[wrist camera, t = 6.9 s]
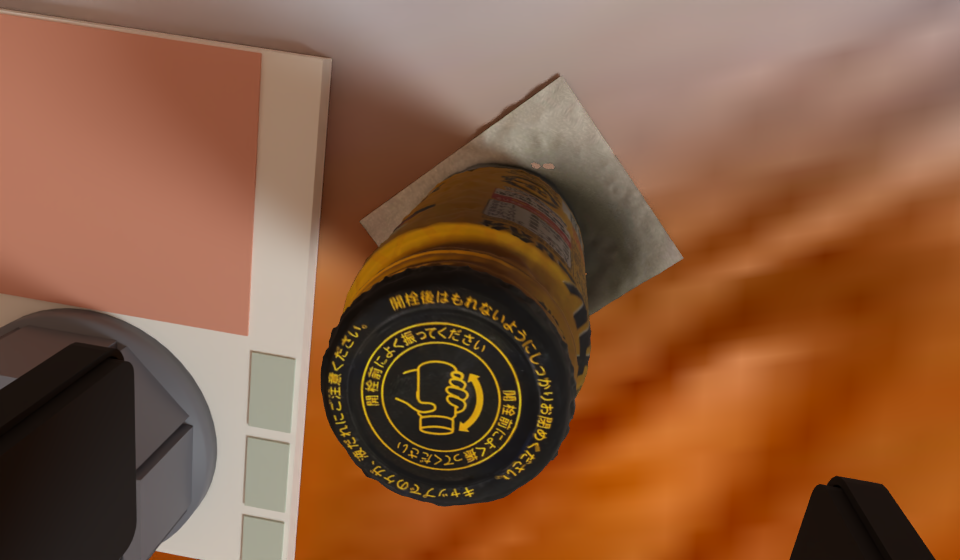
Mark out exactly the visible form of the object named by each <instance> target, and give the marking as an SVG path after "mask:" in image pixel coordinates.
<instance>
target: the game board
mask: <svg viewBox="0 0 960 560" xmlns="http://www.w3.org/2000/svg"><path fill="white" fill-rule="evenodd" d="M331 69H332V59H331V58H325V57H318V56H311V55H305V54H298V53H292V52H285V51H278V50H272V49H265V48H259V47H252V46H246V45H239V44H232V43H226V42H219V41H213V40H206V39H199V38H193V37H186V36H180V35H173V34H166V33H160V32H153V31H147V30H140V29H134V28H127V27H120V26H114V25H107V24H101V23H94V22H87V21H81V20H74V19H68V18H61V17H54V16H48V15H41V14H35V13H28V12H21V11H15V10H8V9H2V8H0V389H2V388H3V387H5V386H7V385H8V384H10V383H11V382H13V381H14V380H16V379H17V378H19V377H20V376H22V375H24V374H25V373H27V372H28V371H30V370H31V369H33V368H34V367H36V366H37V365H39V364H40V363H42V362H44V361H45V360H47V359H48V358H50V357H51V356H53V355H54V354H56V353H57V352H59V351H60V350H62V349H64V348H65V347H67V346H68V345H70V344H72V343H75V342H80V343H86V344H92V345H98V346H103V347H109V348H115V349H118V350H119V351H121V352H122V355H123V357H124V361H128V362H130V363H131V364H132V366H133V368H134V384H135V444H136V504H137V524H136V530H135V534H134V537H133V540H132V542H131V544H130V546H129V548H128V549H127V551H126V552H125V553H124V554H123V556H122V557H121V558H120V559H119V560H148V559H149V558H150V557H151V556H152V554H153V553H154V552H155V551H160V552H165V553H170V554H175V555H180V556H186V557H191V558H196V559H201V560H294V557H295V544H296V531H297V518H298V505H299V491H300V478H301V465H302V452H303V438H304V425H305V412H306V399H307V386H308V372H309V359H310V346H311V333H312V320H313V306H314V293H315V280H316V267H317V253H318V240H319V227H320V214H321V201H322V187H323V174H324V161H325V148H326V135H327V121H328V108H329V95H330V82H331Z"/></svg>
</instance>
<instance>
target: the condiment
mask: <svg viewBox="0 0 960 560" xmlns="http://www.w3.org/2000/svg"><path fill="white" fill-rule="evenodd" d="M533 162H534V163H537V164H540V165H541V167H540V168H539V169H535V168H533V167H532V165H531V163H533ZM545 163H552V164H553V165H554V166H555V168H554V169H545V168H544V167H542V166H543V164H545ZM359 222H360V223H361V224H362V225H363V227H364V228H365V229H366V230H367V232H368V233H369V235H370V236H371V237H372V238H373V240H374V241H375V242H376V244H377V245H378V248H377V249H376V250H375V251H374V252H373V253H372V254H371V255H370V256H369V257H368V258H367V259H366V261H365V263H364V265H363V267H362V269H361V270H360V272H359V273H358V274H357V276H356V278H355V280H354V282H353V284H352V286H351V288H350V290H349V292H348V294H347V297H346V301H345V305H344V310H343V314H342V316H341V319H340V322H339V325H338V326H337V327H335V328H333V330H332V332H331V338H330V340H329V348H328V349H327V350H326V353H325V355H324V356H323V361H322V367H321V392H322V396H323V402H324V407H325V411H326V416H327V419H328V421H329V424H330V426H331V428H332V430H333V432H334V434H335V436H336V437H337V439H338V440H339V442H340V443H341V444H342V445H343V447H344V448H345V449H346V450H347V452H348V454H349V456H350V457H351V459H352V460H353V461H354V463H355V464H356V465H357V466H358V467H359V468H361V469H362V471H363V473H364V474H365V475H366V476H367V477H369V478H372V479H374V480H377V481H379V482H380V483H381V484H382V485H383V486H385V487H386V488H388V489H389V490H391V491H393V492H395V493H397V494H400V495H402V496H406V497H410V498H413V499H416V500H419V501H423V502H430V503H433V504H435V505H438V506H452V505H466V504H473V503H482V502H490V501H494V500H497V499H501V498H504V497H505V496H507V495H509V494H511V493H512V492H513V491H515V490H516V489H518V488H519V487H521V486H523V485H524V484H526V483H527V482H529V481H530V480H532V479H533V478H534V477H536V476H537V475H538V474H539V473H540V472H541V471H542V470H543V469H544V467H545V466H546V465H547V464H548V463H549V462H550V461H551V460H554V458H555V457H556V456H557V455H558V449H559V447H560V445H561V443H562V441H563V440H564V439H565V437H566V436H567V434H568V433H569V422H570V421H571V419H572V418H573V415H574V411H575V398H576V396H577V394H578V393H579V391H580V389H581V387H582V385H583V383H584V380H585V377H586V374H587V370H588V360H589V357H590V351H591V341H590V335H591V330H590V321H589V315H591V314H593V313H595V312H597V311H598V310H600V309H601V308H602V307H604V306H605V305H607V304H609V303H610V302H612V301H613V300H615V299H617V298H619V297H620V296H622V295H623V294H625V293H626V292H628V291H630V290H631V289H633V288H635V287H636V286H638V285H639V284H641V283H643V282H645V281H647V280H648V279H650V278H652V277H654V276H655V275H657V274H659V273H661V272H662V271H664V270H665V269H667V268H668V267H670V266H672V265H673V264H675V263H676V262H678V261H680V260H681V259H683V257H682V255H681V254H680V252H679V251H678V249H677V248H676V246H675V244H674V243H673V242H672V240H671V239H670V237H669V236H668V234H667V233H666V231H665V230H664V228H663V227H662V225H661V224H660V222H659V221H658V219H657V218H656V216H655V215H654V213H653V211H652V210H651V209H650V207H649V206H648V204H647V203H646V201H645V200H644V198H643V196H642V195H641V193H640V192H639V190H638V189H637V187H636V186H635V185H634V183H633V182H632V180H631V178H630V177H629V175H628V174H627V172H626V171H625V169H624V168H623V166H622V165H621V163H620V162H619V160H618V159H617V157H616V156H615V155H614V154H613V152H612V150H611V148H610V147H609V145H608V144H607V142H606V141H605V140H604V138H603V137H602V135H601V134H600V132H599V131H598V129H597V128H596V126H595V125H594V123H593V122H592V120H591V118H590V117H589V115H588V114H587V112H586V111H585V109H584V108H583V107H582V105H581V104H580V102H579V101H578V99H577V98H576V96H575V95H574V93H573V92H572V90H571V89H570V87H569V86H568V84H567V83H566V81H565V80H564V78H563V77H562V76H560V77H559V78H558V79H556V80H555V81H553V82H552V83H551V84H549V85H548V86H546V87H545V88H544V89H542V90H541V91H540V92H538V93H537V94H535V95H534V96H533V97H531V98H530V99H528V100H527V101H526V102H524V103H523V104H521V105H520V106H519V107H517V108H516V109H515V110H513V111H512V112H510V113H509V114H508V115H506V116H505V117H504V118H503V119H501V120H500V121H498V122H497V123H495V124H494V125H492V126H491V127H490V128H488V129H487V130H485V131H484V132H483V133H481V134H480V135H478V136H477V137H476V138H474V139H473V140H472V141H470V142H469V143H467V144H466V145H465V146H463V147H462V148H460V149H459V150H458V151H456V152H455V153H453V154H452V155H451V156H449V157H448V158H446V159H445V160H444V161H442V162H441V163H440V164H438V165H437V166H435V167H434V168H433V169H431V170H430V171H428V172H427V173H426V174H424V175H423V176H421V177H420V178H419V179H417V180H416V181H415V182H413V183H412V184H410V185H409V186H408V187H406V188H405V189H403V190H402V191H401V192H399V193H398V194H397V195H395V196H394V197H392V198H391V199H390V200H388V201H387V202H385V203H384V204H383V205H381V206H380V207H378V208H377V209H376V210H374V211H373V212H372V213H370V214H369V215H367V216H366V217H365V218H363V219H362V220H361V221H359ZM585 273H587V274H586V275H585Z"/></svg>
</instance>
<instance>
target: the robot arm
mask: <svg viewBox="0 0 960 560" xmlns="http://www.w3.org/2000/svg"><path fill="white" fill-rule="evenodd" d="M136 524H137V504H136V444H135V384H134V368H133V366H132V364H131V363H130V362H128V361H124V357H123V355H122V352H121V351H119V350H118V349H115V348H109V347H103V346H98V345H92V344H86V343H80V342H75V343H72V344H70V345H68V346H67V347H65V348H64V349H62V350H60V351H59V352H57V353H56V354H54V355H53V356H51V357H50V358H48V359H47V360H45V361H44V362H42V363H40V364H39V365H37V366H36V367H34V368H33V369H31V370H30V371H28V372H27V373H25V374H24V375H22V376H20V377H19V378H17V379H16V380H14V381H13V382H11V383H10V384H8V385H7V386H5V387H3V388H2V389H0V560H119V559H120V558H121V557H122V556H123V554H124V553H125V552H126V551H127V549H128V548H129V546H130V544H131V542H132V540H133V537H134V534H135V530H136ZM790 560H935V558H934V557H933V555H932V554H931V552H930V551H929V549H928V548H927V547H926V545H925V544H924V542H923V541H922V539H921V538H920V536H919V535H918V533H917V532H916V531H915V529H914V528H913V526H912V525H911V523H910V522H909V520H908V519H907V517H906V516H905V515H904V513H903V512H902V510H901V509H900V507H899V506H898V504H897V503H896V501H895V500H894V499H893V497H892V496H891V494H890V493H889V491H888V490H887V489H886V488H885V487H884V486H883V485H882V484H878V483H873V482H868V481H862V480H856V479H851V478H845V477H839V476H835V477H833V478H832V479H831V480H830V481H829V482H828V484H827V485H822V484H819V485H817V486H816V487H815V488H814V490H813V492H812V494H811V497H810V500H809V503H808V506H807V509H806V512H805V515H804V518H803V521H802V524H801V527H800V530H799V533H798V536H797V539H796V542H795V545H794V548H793V551H792V554H791V557H790Z"/></svg>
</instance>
